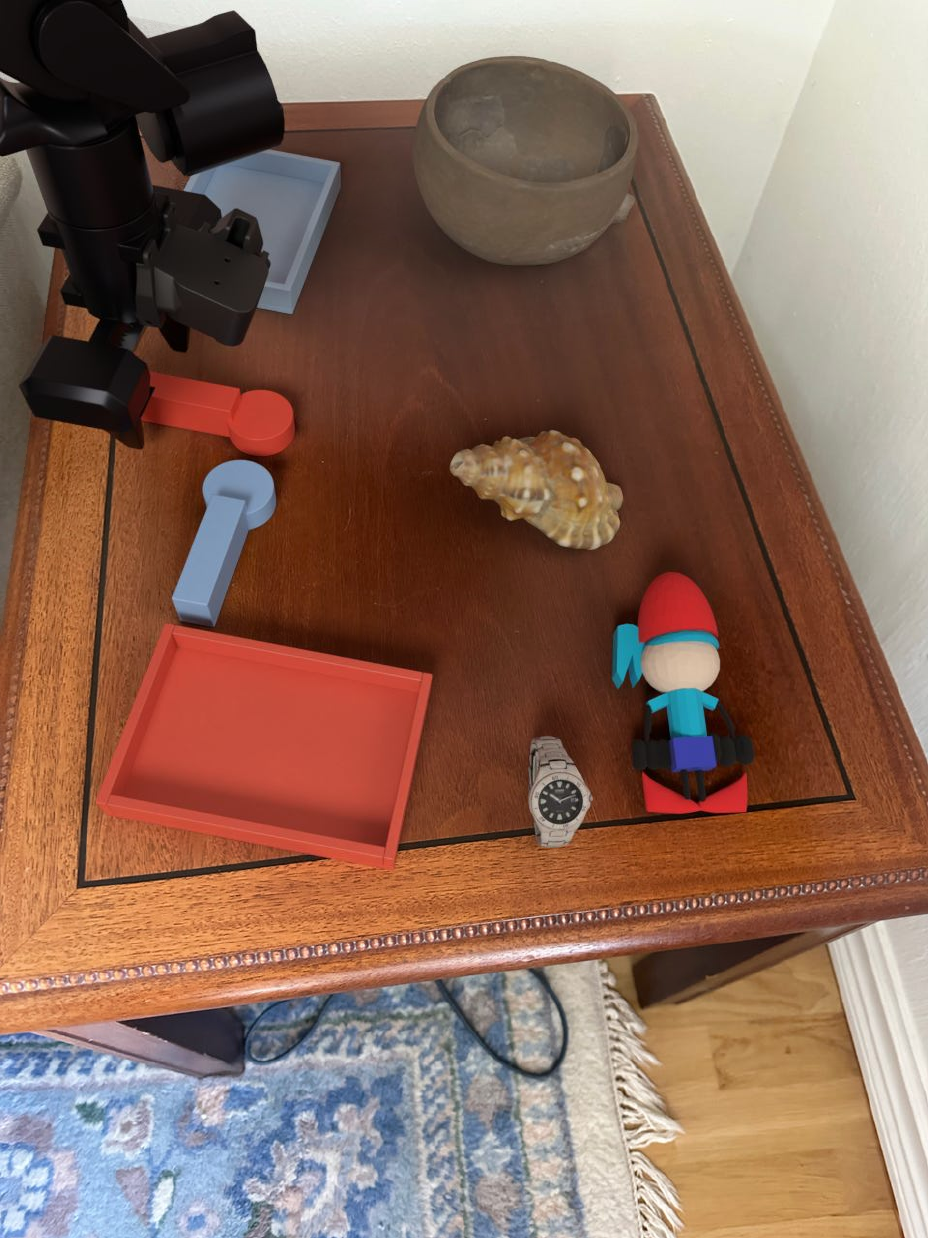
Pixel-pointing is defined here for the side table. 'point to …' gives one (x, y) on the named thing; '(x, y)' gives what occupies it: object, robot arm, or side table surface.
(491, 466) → the seashell
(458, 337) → the side table surface
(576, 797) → the wristwatch
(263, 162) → the blue tray
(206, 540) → the blue spoon
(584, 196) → the bowl
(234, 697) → the red tray
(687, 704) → the toy figure
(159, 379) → the red spoon
